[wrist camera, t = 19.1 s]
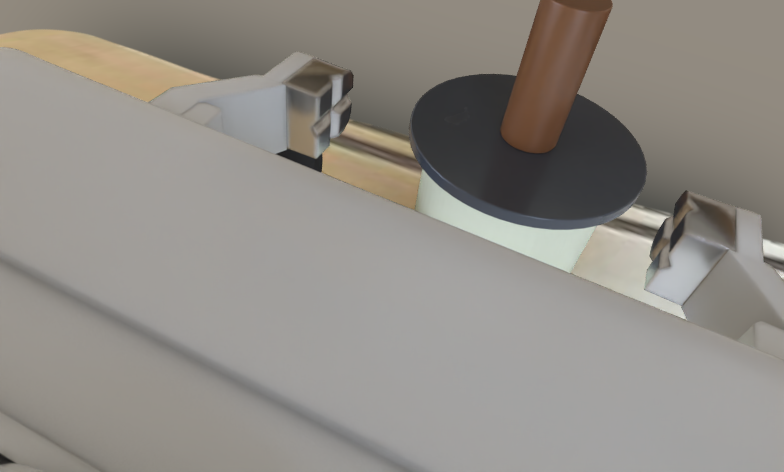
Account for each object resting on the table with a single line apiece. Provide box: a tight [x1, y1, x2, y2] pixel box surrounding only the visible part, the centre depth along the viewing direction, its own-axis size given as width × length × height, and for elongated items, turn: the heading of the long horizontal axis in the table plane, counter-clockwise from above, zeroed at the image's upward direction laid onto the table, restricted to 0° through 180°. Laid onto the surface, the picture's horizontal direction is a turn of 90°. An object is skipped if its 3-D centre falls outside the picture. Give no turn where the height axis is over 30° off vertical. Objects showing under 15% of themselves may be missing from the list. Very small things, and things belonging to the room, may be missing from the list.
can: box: [415, 169, 597, 273], centre depth 30 cm, size 9×9×12 cm
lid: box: [409, 0, 647, 230], centre depth 23 cm, size 11×11×7 cm
